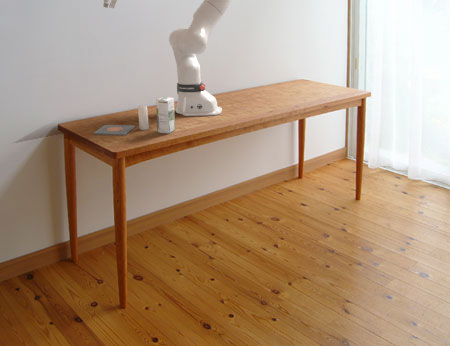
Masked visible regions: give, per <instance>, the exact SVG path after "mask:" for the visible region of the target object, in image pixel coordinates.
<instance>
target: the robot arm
mask: <svg viewBox="0 0 450 346" xmlns="http://www.w3.org/2000/svg"><path fill="white" fill-rule="evenodd" d="M117 1H118V0H110V3H109V0H103V4H102V6H103V8H107V9H108V8H110V9H115V7H116V4H117ZM231 2H232V0H203V1H202V3H200V5H199V7H197V9H196V10H195V12H194V13H193V15H192V17H193V18H192V21H191V23H190V25H189V27H188V28H183V27H182V28H177V29H174V30H172V31H171V32H170V34H169V38H168V42H169V45H170V46H171V48H172V51H173V56H174V59H175V63H176V64H175V65H176V70H177V71H176V72H177V74H176V75H177V83H176V92H177V105H176V109H175V113H177V114H178V115H179V114H180V115H182V116H184V117H193V116H195V117H196V116H201V117H202V116H218V115H219V114H221V113H222V112H223V108H222V107H221V106H218V102H217V98H216V97H215V96H214V95H212V93H210V92H209V91H207V90H206V82H204V83H203V82H202V79H201V78H202V77H201V64H200V63H199V60H198V58H197V55H201V54H204V53H205V51H206V50H207V48H208V40H209V38H210V34H211V33H212V31H213V29H214V28H215V26H216V25H217V24H218V22H219V21H220V20H221V18H222V17H223V16H224V15H225V13H226V11H227V9H228V8H229V6H230V4H231Z"/></svg>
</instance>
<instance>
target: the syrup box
mask: <svg viewBox="0 0 450 346" xmlns="http://www.w3.org/2000/svg"><path fill="white" fill-rule="evenodd" d="M155 102H156V104H155V105H156V106H155V107H156V108H155V109H156V127H157V133H159V134H171V133H173V132H175V131H176V121H175V120H176V118H175V116H176V115H175V98H174V97H167V96H163V97H159V98H158V99H156V100H155Z"/></svg>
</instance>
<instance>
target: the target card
mask: <svg viewBox="0 0 450 346" xmlns="http://www.w3.org/2000/svg"><path fill="white" fill-rule="evenodd" d="M135 128H136V126H135V125H128V124H126V125H125V124H123V125H121V124H118V125H117V124H104V125H103V126H101V127H100V128H98V129H97V130H95V131H94V132H93V135H107V136H112V135H113V136H126V135H127V134H128V133H130V132H131V131H132V130H134V129H135Z"/></svg>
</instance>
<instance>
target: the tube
mask: <svg viewBox="0 0 450 346" xmlns="http://www.w3.org/2000/svg"><path fill="white" fill-rule="evenodd" d="M137 111H138V112H137V113H138V125H139V127H138V129H139V130H140V131H147V130H149V128H150V127H149V114H148V106H147V105H138V106H137Z"/></svg>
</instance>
